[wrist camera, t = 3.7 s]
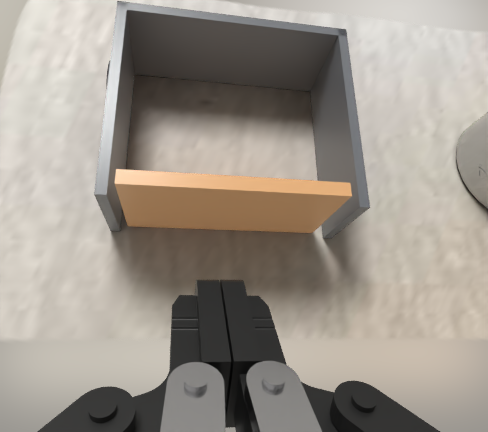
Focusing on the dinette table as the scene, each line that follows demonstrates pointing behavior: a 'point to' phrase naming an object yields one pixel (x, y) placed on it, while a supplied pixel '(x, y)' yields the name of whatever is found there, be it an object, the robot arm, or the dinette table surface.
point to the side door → (227, 201)
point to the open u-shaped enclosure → (235, 72)
